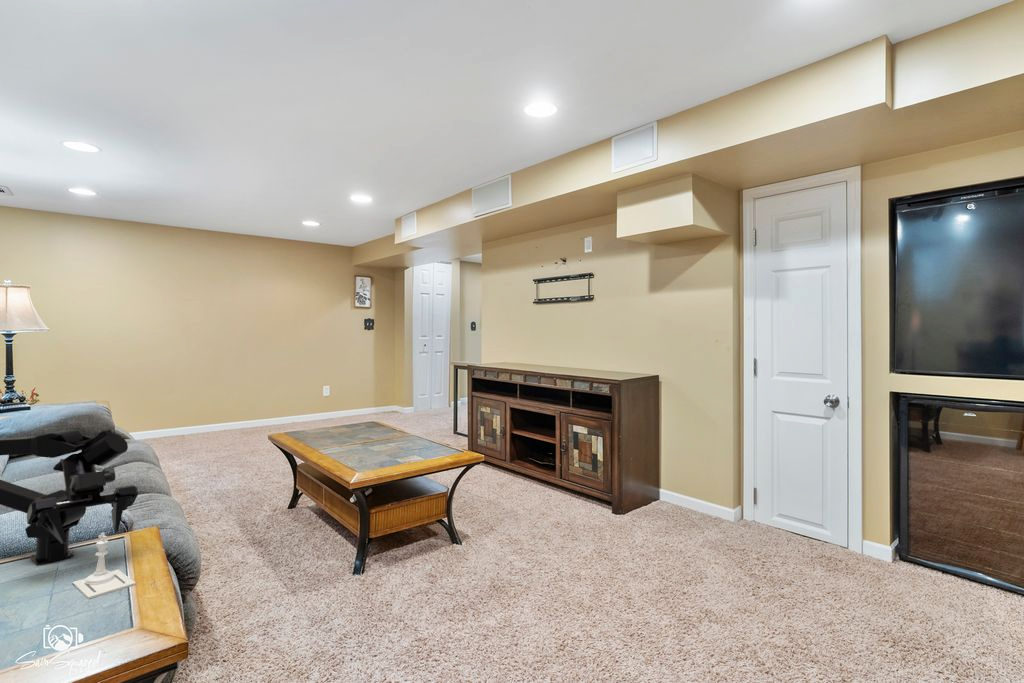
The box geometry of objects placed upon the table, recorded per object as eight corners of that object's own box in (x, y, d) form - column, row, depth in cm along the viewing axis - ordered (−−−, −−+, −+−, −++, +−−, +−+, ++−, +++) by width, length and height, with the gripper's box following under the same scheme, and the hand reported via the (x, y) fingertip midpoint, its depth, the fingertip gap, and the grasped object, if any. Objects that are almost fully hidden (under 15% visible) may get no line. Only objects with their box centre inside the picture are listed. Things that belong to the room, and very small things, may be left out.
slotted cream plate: (72, 583, 106) (72, 581, 106) (118, 571, 112) (118, 569, 112) (88, 599, 100) (88, 597, 100) (135, 584, 107) (135, 582, 107)
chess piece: (97, 586, 104) (100, 538, 104) (78, 583, 105) (81, 535, 105) (120, 576, 109) (123, 530, 109) (102, 573, 110) (104, 527, 110)
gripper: (33, 463, 106) (41, 528, 99) (138, 451, 121) (151, 507, 114) (23, 492, 111) (30, 556, 104) (125, 477, 125) (137, 533, 119)
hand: (91, 537), depth 110 cm, fingers open, 9 cm apart
